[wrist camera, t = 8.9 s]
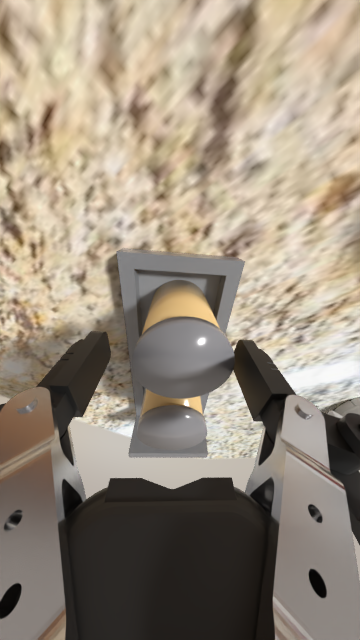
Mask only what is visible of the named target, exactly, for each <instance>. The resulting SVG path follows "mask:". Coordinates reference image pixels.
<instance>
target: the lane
mask: <svg viewBox="0 0 360 640" xmlns="http://www.w3.org/2000/svg"><path fill="white" fill-rule="evenodd" d="M117 260H118V268H119V276H120V284H121V293H122V301H123V309H124V317H125V325H126V334H127V342H128V350H129V358H130V367H131V375H132V383H133V391H134V400H135V408H136V420H135V425H134V429H133V434H132V439H131V444H130V448H129V457H207V454H208V451H207V444H206V438H205V439H204V440H203V441H202V442H201V443H199V444H197V445H195V446H193V447H190V448H186V449H180V450H162V449H156V448H152V447H150V446H147V445H145V444H144V443H142V442H141V441H140V440H139V439H138V437H137V428H138V423H139V419H140V413H141V408H142V403H143V398H144V392H145V388H144V387H143V386H142V385H141V384H140V383H139V382H138V381H137V379H136V377H135V376H134V373H133V370H132V356H133V353H134V350H135V347H136V344H137V342H138V340H139V338H140V336H141V335H142V333H143V329H144V326H145V322H146V319H147V316H148V312H149V309H150V306H151V302H152V299H153V296H154V294H155V292H156V291H157V289H158V288H159V287H160V286H162V285H163V284H165V283H167V282H169V281H172V280H186V281H190V282H192V283H194V284H195V285H197V286H198V287H199V288H200V289H201V290H202V292H203V293H204V295H205V297H206V300H207V302H208V304H209V306H210V308H211V310H212V312H213V315H214V317H215V319H216V321H217V323H218V325H219V327H220V329H221V330H222V331H223V332H224V334H225V333H226V329H227V325H228V322H229V318H230V314H231V311H232V307H233V303H234V300H235V296H236V292H237V289H238V285H239V281H240V278H241V274H242V271H243V267H244V263H245V261H243V260H241V259H239V258H237V257H225V256H212V255H199V254H187V253H174V252H161V251H148V250H136V249H121V250H119V251H117ZM208 395H209V393H207V394H205V395H202V396H200V398H201V405H202V412H203V413H204V409H205V406H206V402H207V399H208Z"/></svg>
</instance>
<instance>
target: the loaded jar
mask: <svg viewBox="0 0 360 640" xmlns="http://www.w3.org/2000/svg"><path fill="white" fill-rule="evenodd" d="M206 436H207V427H206V421H205V418H204V416H203V412H202V405H201V398H200V396H198V397H193V398H184V399H177V398H168V397H163V396H160V395H157V394H155V393H153V392H151V391H149V390H147V389H146V395H145V400H144V406H143V411H142V416H141V417H140V419H139V423H138V428H137V437H138V439H139V440H140V441H141V442H142V443H144V444H145V445H147V446H150V447H152V448H156V449H162V450H180V449H186V448H190V447H193V446H195V445H197V444H199V443H201V442H202V441H203V440H204V439H205V438H206Z"/></svg>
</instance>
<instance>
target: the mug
mask: <svg viewBox="0 0 360 640" xmlns="http://www.w3.org/2000/svg"><path fill="white" fill-rule="evenodd" d="M348 413H355V414H359V415H360V398H355V399H352V400H351V401H347V402H345V403H343V404H341V405H340V406H338V407H337V408H336V409H335V410H334V411H332V410H331V411H329V412H328V413H327V414H328V415H332V416H335V417H338V418H342V417H344V416H345V415H346V414H348Z"/></svg>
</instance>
